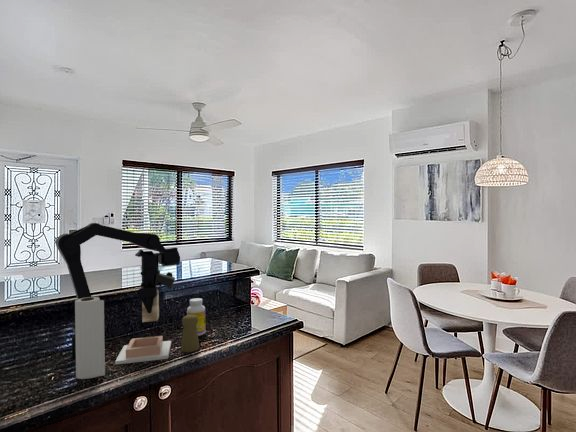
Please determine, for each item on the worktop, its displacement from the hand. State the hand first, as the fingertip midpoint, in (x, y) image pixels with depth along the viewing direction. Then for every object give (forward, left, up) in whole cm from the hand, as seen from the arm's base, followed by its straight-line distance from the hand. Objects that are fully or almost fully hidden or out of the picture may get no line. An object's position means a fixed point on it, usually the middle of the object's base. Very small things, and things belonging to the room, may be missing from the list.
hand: (150, 310), depth 124 cm
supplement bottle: (+16, 0, -10) cm, 19 cm away
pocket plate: (0, -14, -10) cm, 17 cm away
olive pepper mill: (+14, -14, -10) cm, 22 cm away
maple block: (0, 0, -3) cm, 3 cm away
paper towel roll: (-13, -26, -10) cm, 31 cm away
